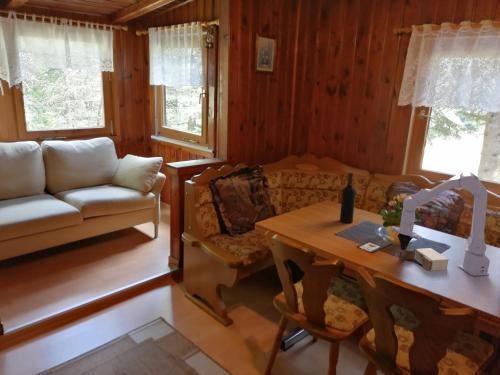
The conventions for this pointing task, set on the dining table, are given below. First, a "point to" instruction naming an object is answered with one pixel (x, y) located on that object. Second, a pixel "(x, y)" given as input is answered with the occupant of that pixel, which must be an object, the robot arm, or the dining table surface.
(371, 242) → the chocolate bar
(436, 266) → the cabinet
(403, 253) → the door
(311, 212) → the dining table surface
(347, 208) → the wine bottle
